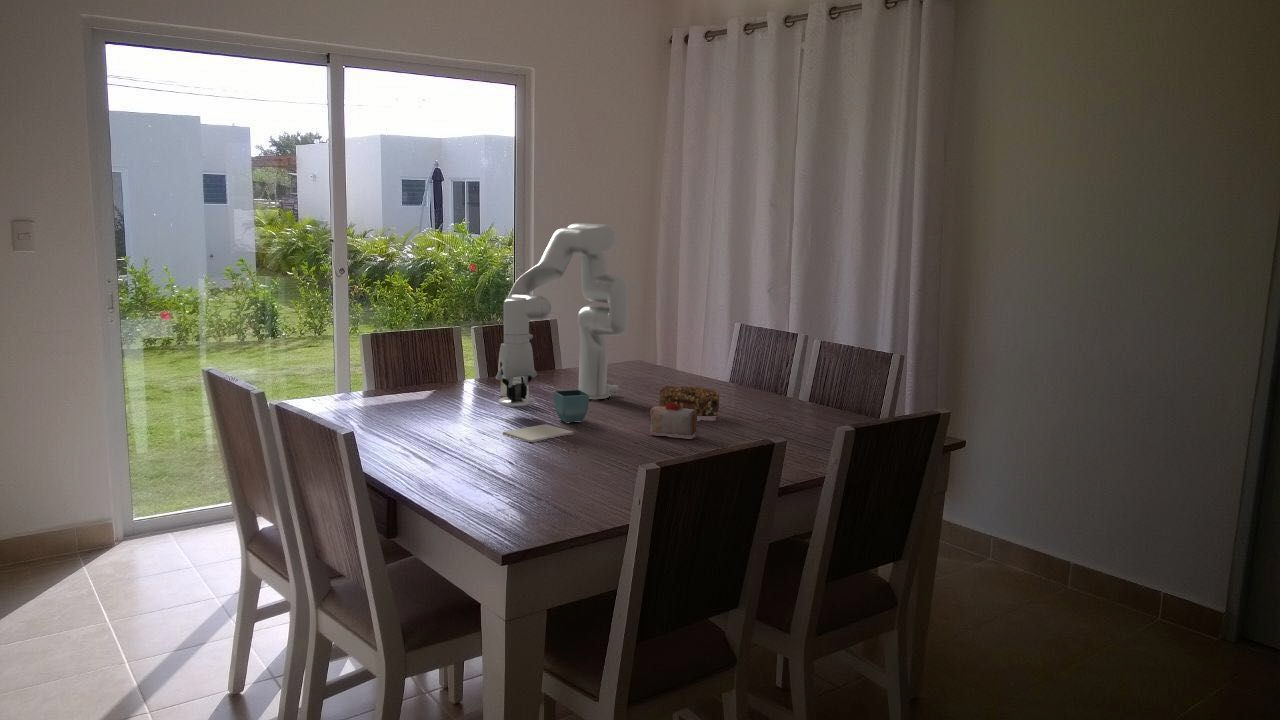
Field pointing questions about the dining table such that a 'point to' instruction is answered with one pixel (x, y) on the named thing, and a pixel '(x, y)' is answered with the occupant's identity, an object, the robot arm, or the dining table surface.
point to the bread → (691, 399)
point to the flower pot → (571, 404)
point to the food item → (673, 420)
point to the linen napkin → (536, 432)
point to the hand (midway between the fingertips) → (516, 398)
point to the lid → (517, 398)
